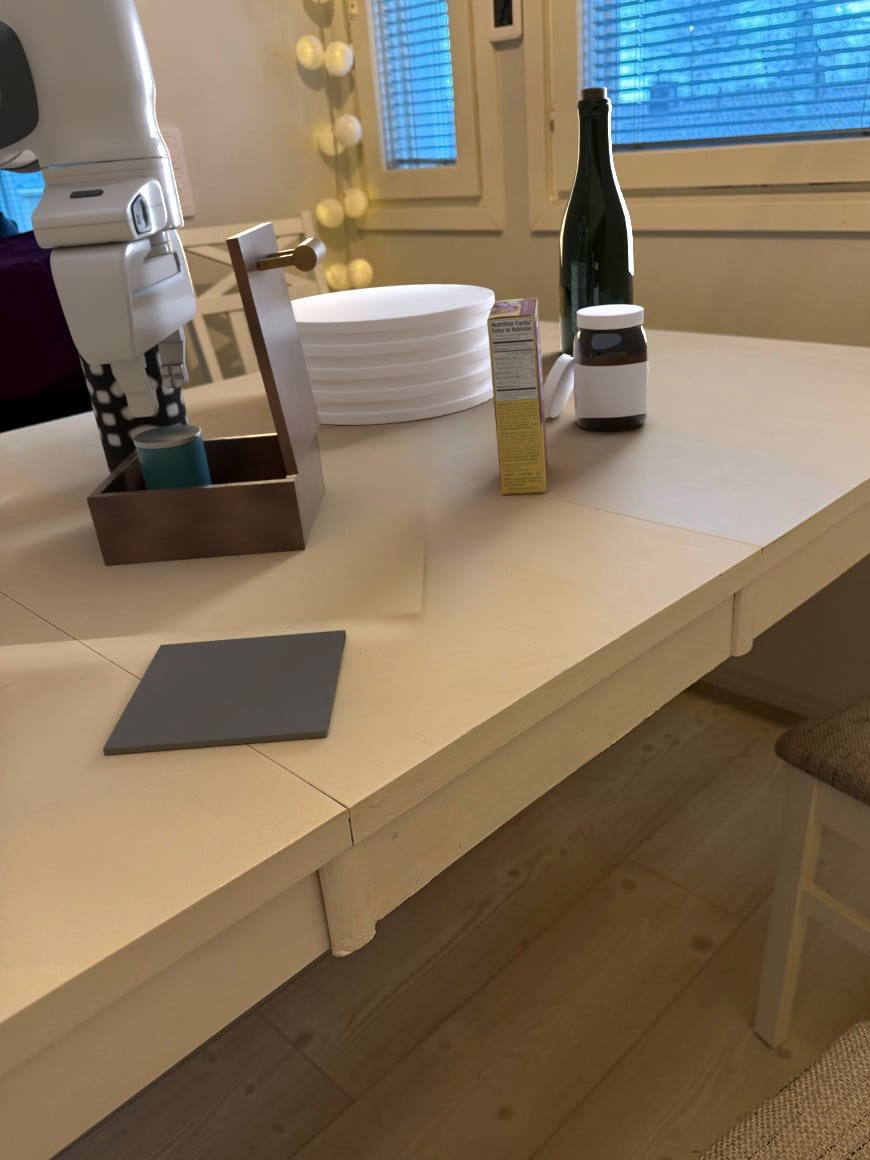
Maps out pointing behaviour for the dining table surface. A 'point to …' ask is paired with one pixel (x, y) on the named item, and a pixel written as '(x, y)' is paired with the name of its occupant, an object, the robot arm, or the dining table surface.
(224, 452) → the storage box
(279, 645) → the mat
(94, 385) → the spotted tube
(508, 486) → the candy box
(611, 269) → the dark green wine bottle
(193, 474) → the can
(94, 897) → the dining table surface
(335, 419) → the plate stack
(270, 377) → the lid
